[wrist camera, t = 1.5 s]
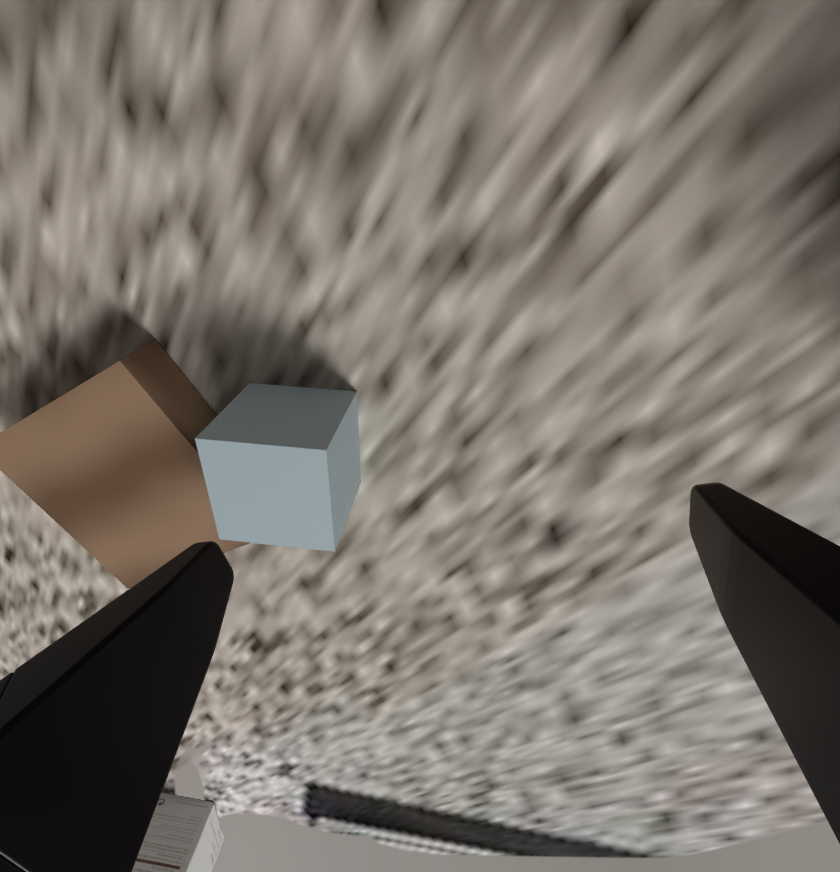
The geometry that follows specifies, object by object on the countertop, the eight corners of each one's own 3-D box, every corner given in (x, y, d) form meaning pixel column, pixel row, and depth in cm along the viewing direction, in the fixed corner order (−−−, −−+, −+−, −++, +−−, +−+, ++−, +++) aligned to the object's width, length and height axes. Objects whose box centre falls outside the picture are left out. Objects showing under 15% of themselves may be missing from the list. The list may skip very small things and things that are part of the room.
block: (357, 390, 22) (326, 450, 18) (361, 480, 25) (334, 551, 20) (250, 382, 23) (194, 438, 18) (265, 471, 25) (219, 539, 21)
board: (286, 503, 26) (268, 536, 24) (154, 556, 29) (128, 588, 27) (155, 339, 22) (119, 360, 20) (19, 421, 25) (-24, 447, 23)
